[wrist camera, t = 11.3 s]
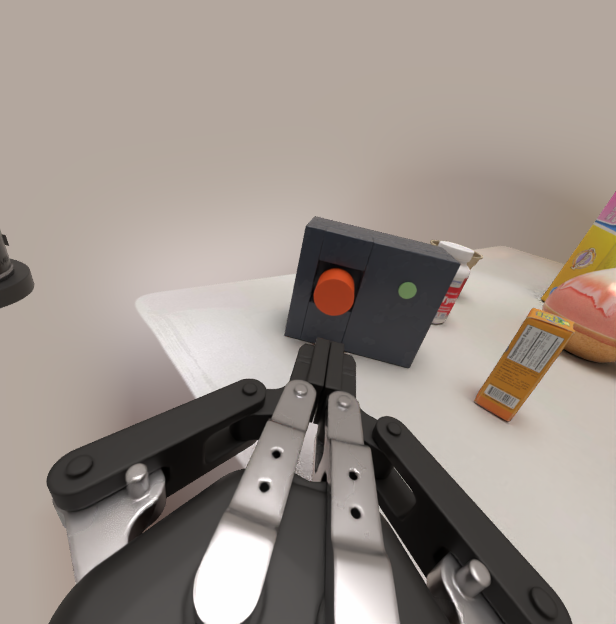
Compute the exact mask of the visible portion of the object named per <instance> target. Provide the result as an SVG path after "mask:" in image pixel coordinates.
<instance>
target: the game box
mask: <svg viewBox="0 0 616 624" xmlns="http://www.w3.org/2000/svg"><path fill="white" fill-rule="evenodd" d="M611 268H616V192H615V193H614V195H613V196H612V198H611V199H610V201H609V202H608V204H607V205H606V206H605V208H604V209H603V211H602V212H601V214H600V215H599V217H598V218H597V219H596V221H595V223H594V224H593V225H592V227H591V228H590V230H589V231H588V233H587V234H586V235H585V237H584V238H583V240H582V241H581V242H580V244H579V246H578V247H577V248H576V250H575V251H574V252H573V254H572V255H571V257H570V258H569V260H568V261H567V262H566V264H565V265H564V267H563V268H562V269H561V271H560V272H559V274H558V275H557V277H556V278H555V279H554V281H553V282H552V284H551V285H550V287H549V288H548V290H547V291H546V292H545V294H544V295H543V296H542V298H541V300H543V301H546V299H547V298H548V296H549V295H550V294H551V293H552V292H553V291H554V290H555V289H556V288H557V287H559V286H560V285H561V284H563V283H564V282H566V281H568V280H570V279H572V278H574V277H577V276H579V275H583V274H586V273H590V272H594V271H599V270H604V269H611Z"/></svg>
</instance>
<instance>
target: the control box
mask: <svg viewBox="0 0 616 624" xmlns="http://www.w3.org/2000/svg"><path fill="white" fill-rule="evenodd" d="M460 265H461V263H459V262H458V261H457V260H456V259H455V258H454V257H453V256H452V255H450V254H449V253H448V252H447V251H446V250H445V249H443V248H442V247H439V246H435V245H431V244H427V243H423V242H418V241H415V240H410V239H406V238H402V237H398V236H394V235H390V234H386V233H382V232H378V231H374V230H369V229H365V228H361V227H357V226H353V225H348V224H345V223H341V222H337V221H333V220H328V219H324V218H320V217H316V216H315V217H314V218H313V219H312V220H311V221H310V222H309V223H308V224H307V225H306V228H305V233H304V238H303V243H302V248H301V253H300V258H299V263H298V268H297V273H296V279H295V284H294V289H293V294H292V299H291V304H290V309H289V314H288V319H287V324H286V329H285V334H284V335H285V336H288V337H292V338H296V339H301V340H304V341H308V342H311V343H316V339H317V337H319V338H323V339H326V340H330V342H331V341H334V342H338V343H342V344H344V351H346V352H350V353H353V354H357V355H361V356H365V357H369V358H372V359H376V360H380V361H384V362H388V363H391V364H395V365H399V366H403V367H407V368H410V366H411V364H412V362H413V360H414V358H415V356H416V354H417V352H418V350H419V348H420V346H421V344H422V342H423V340H424V338H425V336H426V334H427V332H428V330H429V328H430V326H431V324H432V321H433V319H434V317H435V315H436V313H437V311H438V309H439V307H440V305H441V303H442V301H443V299H444V297H445V295H446V293H447V291H448V289H449V287H450V285H451V283H452V281H453V279H454V277H455V275H456V273H457V271H458V269H459V267H460ZM331 268H340V269H343V270H345V271H347V272H348V273H349V274H350V275H351V276H352V278H353V280H354V302H353V305H352V307H351V308H350V309H349V310H348V311H347V312H346V313H344V314H341V315H337V316H331V315H327V314H325V313H323V312H321V311H320V310H319V309H318V308H317V306H316V305H315V302H314V291H315V288H316V285H317V283H318V280H319V277H320V276H321V274H322V273H323V272H325V271H326V270H328V269H331Z"/></svg>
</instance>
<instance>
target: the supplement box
mask: <svg viewBox="0 0 616 624" xmlns="http://www.w3.org/2000/svg"><path fill="white" fill-rule="evenodd" d="M574 324H575V322H573V321H570V320H567V319H565V318H562V317H559V316H557V315H554V314H551V313H548V312H545V311H542V310H539V309H536V308H532V310H531V311H530V312H529V314H528V316H527V317H526V319H525V321H524V322H523V324H522V325H521V327H520V329H519V330H518V332H517V334H516V335H515V337H514V338H513V340H512V341H511V343H510V344H509V346H508V347H507V349H506V351H505V352H504V354H503V355H502V357H501V358H500V360H499V361H498V363H497V365H496V366H495V368H494V369H493V371H492V372H491V374H490V376H489V377H488V379H487V380H486V382H485V383H484V385H483V386H482V388H481V389H480V391H479V392H478V394H477V396H476V398H475V403H477V404H478V405H480V406H481V407H483V408H485V409H486V410H488V411H490V412H492V413H493V414H495V415H497V416H498V417H500V418H502V419H504V420H506V421H508V422H509V421H510V420H511V419H512V418H513V417H514V415H515V414H516V413H517V411H518V410H519V409H520V407H521V406H522V405H523V403H524V402H525V401H526V399H527V398H528V397H529V395H530V394H531V393H532V391H533V390H534V389H535V387H536V386H537V384H538V383H539V382H540V380H541V379H542V378H543V376H544V375H545V374H546V372H547V371H548V369H549V368H550V367H551V365H552V364H553V362H554V361H555V360H556V358H557V357H558V356H559V354H560V353H561V351H562V350H563V349H564V347H565V346H566V344H567V343H568V342H569V340H570V339H571V337H572V336H573V333H575V330H574V329H573V326H574Z"/></svg>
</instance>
